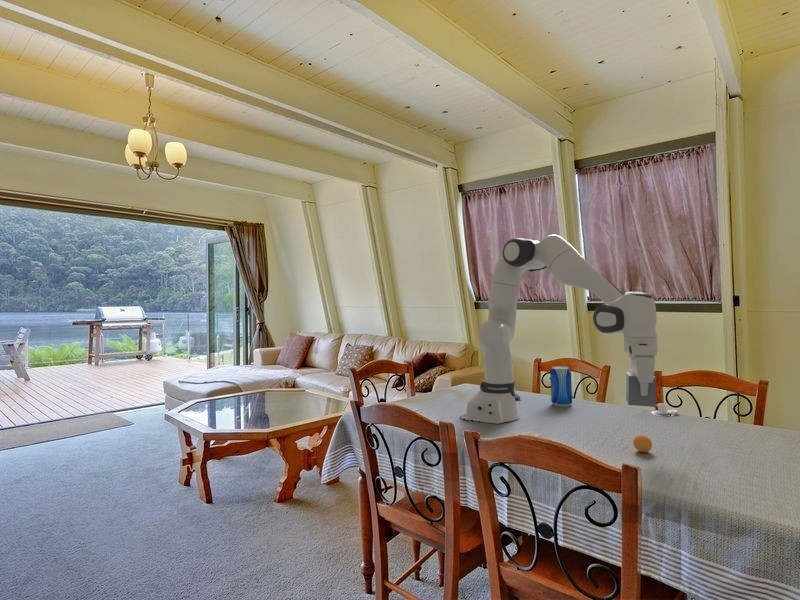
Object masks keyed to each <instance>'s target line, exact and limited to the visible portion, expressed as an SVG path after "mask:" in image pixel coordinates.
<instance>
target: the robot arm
mask: <svg viewBox="0 0 800 600" xmlns="http://www.w3.org/2000/svg"><path fill="white" fill-rule="evenodd" d="M545 269H548V270H549V271H550V273H551V274H552V275H553V277H554V278H556V280H558V281H559V282H560V283H562V284H564V285H565V286H569V287H575V288H580V289H583V290H587V291H589V292H591V293H593V294H594V295H596V297H597V298H599V299H600V300H601V301H602V302H603V304H601V305H598V306H597V307H596V308H595V309H594V311H593V315H592V320H593V321H592V322H593V325H594V327H595V328H596V330H597V331H599V332H600V333H603V334H608V335H609V334H611V335H612V334H620V333H622V334H623V350H624V352H626V353H628V357H629V358H630V367H631V372H634V374H635V375H636V378H637V379H638V381H639V382H640V394H641V395H642V396H647V395H648V385H649V384H648V383H652V382H653V379H654V376H655V365H656V364H655V359H656V358H655V357H656V356H658V350H659V349H658V333H657V330H656V325H657V318H658V317H657V307H656V303H655V299H654V297H653V296H652V295H651V294H649V293H647V292H643V291H626V292H625V293H623V292H622V291H621V290H620V289H619V288H618V287H617V286H616V285H615V284H613V283H612V282H611V280H609V279H608V278H607V277H606V276H605V275H603V274H602V273H601V272H600V271H598V270H597V269H596V268H595V267H594V266H593V265H592V264H591V263H589V262H588V261H587V260H586V259H585V258H584V257H583V256H582V255H581V253H580V252H579V251H578V250H577V249H576V248H575V247H574V246H573V245H572V244H571V243H569V242H568V241H567V240H566V239H564V237H562V236H561V235H559V234H558V235H557V234H549V235H547V236H545V237H543V239H541V241H539V240H536V239H529V238H522V237H515V238H512V239H511V238H510V239H509V240H507V242H506V243H505V244H504V246H503V248H502V256H500V257H499V258H498V259H497V261H496V264H495V266H494V269H493V273H492V278H491V282H490V289H489V295H488V301H487V303H488V315H487V316H488V318H487V320H486V321H485V322H483V323H482V324H481V325H480V327H479V329H478V335H477V336H478V340H479V342H480V347H481V352H482V357H483V363H484V364H483V366H484V367H483V369H484V379H482V380H481V381H480V383H479V389H480V390H479V391H478V392H477V393H475V394H474V395H473V396H472V397H470V398H469V399H468V401H467V405H466V409H465V410H463V411H462V412H461V415H460V418H461V419H462V420H463V419H465V421H471V420H473V422H479V421H480V423H488V424H489V423H490V424H495V425H496V424H498V425H500V424H502V423H506V422H508V423H509V422H513V421H516V420H518V419H520V415H519V413H518V409H517V408H518V407H517V402H516V400H515V393H516V384H515V382H516V381H514V362H513V361H514V360H513V359H512V354H511V353H512V352H511V348H510V342H511V341H512V340H513V338H514V336H515V331H516V330H515V329H516V322H517V306H518V300H519V294H520V290H521V289H520V288H521V284H522V277H523V274H524V273H525V272H527V271H528V272H531V273H532V272H536V271H542V270H545Z"/></svg>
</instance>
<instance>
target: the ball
mask: <svg viewBox="0 0 800 600" xmlns="http://www.w3.org/2000/svg"><path fill="white" fill-rule="evenodd" d="M633 446H634V448H635V449H636V450H637V451H638V452H640V453H649V451H651V450H652V447H653V443H652V439H650V437H649V436H647V435H644V434H639V435H636V436H635V437H634V439H633Z"/></svg>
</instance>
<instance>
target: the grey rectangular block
mask: <svg viewBox="0 0 800 600" xmlns="http://www.w3.org/2000/svg"><path fill="white" fill-rule="evenodd" d="M625 375H626V376H625V379H626V382H625V383H626V384H625V385H626V386H625V396H626V398H625V399H626V403H627V404H628V406H635V407H636V406H639V407H652V408H656V406H655V405H656V398H657V397H656V391H657V390H656V384H657V383H656V380H657V377H656V376H655V375H654V379H653V382H652V383H648V384H649V385H648V395H647V396H642V395H641V394H640V382H639V381H638V379H637V378H636V375H635V374H634V372H633V371H626V374H625Z"/></svg>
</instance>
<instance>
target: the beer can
mask: <svg viewBox="0 0 800 600" xmlns="http://www.w3.org/2000/svg"><path fill="white" fill-rule="evenodd" d="M549 375H550V376H549V378H550V402H551V403H552V404H553V406H555V407H558V408H568V407H571V406H572V404H573V392H572V391H573V388H572V386H573V385H572V384H573V383H572V372H571V370H570V367H568V366H564V365H562V366H561V365H559V366H558V365H557V366H552V368H551V371H550V374H549Z"/></svg>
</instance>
